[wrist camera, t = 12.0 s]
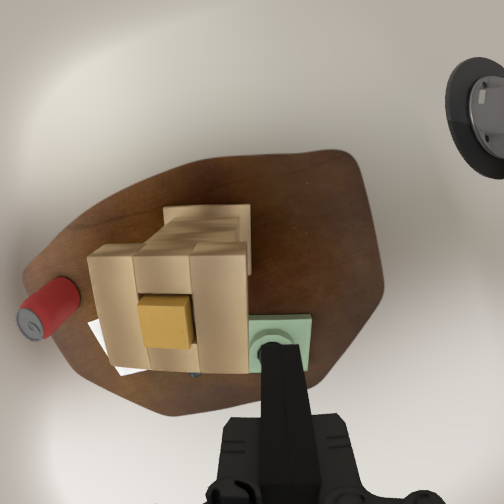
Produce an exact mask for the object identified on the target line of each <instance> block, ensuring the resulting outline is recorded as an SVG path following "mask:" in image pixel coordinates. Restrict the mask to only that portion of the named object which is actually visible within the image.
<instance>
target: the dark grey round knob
mask: <svg viewBox="0 0 504 504" xmlns="http://www.w3.org/2000/svg"><path fill="white" fill-rule="evenodd" d="M264 345H281V344H279V343H277V342H268V343H266V344H264ZM259 362H260V364H261V348H260V350H259Z"/></svg>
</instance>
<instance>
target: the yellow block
mask: <svg viewBox="0 0 504 504" xmlns="http://www.w3.org/2000/svg"><path fill="white" fill-rule="evenodd" d="M137 311H138V317H139V323H140V328H141V333H142V338H143V343H144V347H148V348H165V349H188V350H189V349H190V347H191V344H192V341H193V338H194V330H193V321H192V311H191V301H190V295H164V294H144V296H143V297H142V298H141V300H140V301H139V302H138V304H137Z"/></svg>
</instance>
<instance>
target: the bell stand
mask: <svg viewBox="0 0 504 504" xmlns="http://www.w3.org/2000/svg"><path fill="white" fill-rule="evenodd" d="M163 212H164V227H162V228H161V229H160V230H159V231H158V232H156V233H155V234H154V235H153V236H152V237H150V238H149V239H148V240H147V241H146V242H144V243H140V244H105V245H103V246H102V247H100V248H99V249H97V250H96V251H95V252H93V253H92V254H90V255H89V256H87V261H88V267H89V273H90V279H91V284H92V289H93V294H94V299H95V304H96V309H97V313H98V318H99V322H100V326H101V330H102V335H103V339H104V342H105V346H106V350H107V354H108V357H109V361H110V365H111V366H116V367H125V368H135V369H147V370H159V371H174V372H193V373H200V372H201V373H231V374H248V373H249V310H248V275H251V217H250V204H212V205H181V206H165V207H163ZM144 294H164V295H190V301H191V311H192V321H193V330H194V338H193V341H192V344H191V347H190V349H189V350H188V349H165V348H148V347H144V343H143V338H142V333H141V328H140V323H139V317H138V311H137V304H138V302H139V301H140V300H141V298H142V297H143V296H144Z"/></svg>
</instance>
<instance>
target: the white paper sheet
mask: <svg viewBox="0 0 504 504" xmlns="http://www.w3.org/2000/svg"><path fill="white" fill-rule="evenodd" d="M88 324H89V326H90V328H91V330H92V331H93V333H94V335H95V336H96V338H97V340H98V341H99V343H100V344H101V346H102V348H103V349H104V351H105V352H106V354H107V350H106V346H105V342H104V339H103V335H102V330H101V326H100V322H99V319H97V320H94V321H91V322H88ZM107 356H108V354H107ZM115 368H116V369H117V371H118V372H119V374H120V375H121V376H123V375H128V374H132V373H136V372H140V371H145V370H147V369H135V368H125V367H116V366H115Z"/></svg>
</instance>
